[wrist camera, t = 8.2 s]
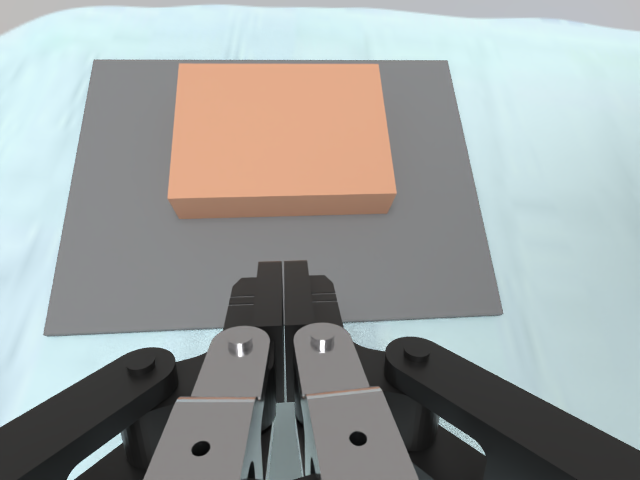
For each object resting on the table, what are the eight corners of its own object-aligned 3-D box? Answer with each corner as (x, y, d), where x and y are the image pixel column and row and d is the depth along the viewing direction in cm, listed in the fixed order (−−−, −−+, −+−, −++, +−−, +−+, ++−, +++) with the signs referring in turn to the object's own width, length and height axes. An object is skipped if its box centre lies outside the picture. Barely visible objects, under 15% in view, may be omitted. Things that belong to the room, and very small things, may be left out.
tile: (387, 213, 25) (371, 92, 28) (396, 193, 23) (378, 63, 26) (179, 219, 24) (188, 92, 27) (167, 198, 22) (178, 63, 25)
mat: (445, 64, 30) (447, 60, 30) (500, 315, 24) (503, 313, 23) (96, 64, 28) (93, 59, 28) (47, 336, 22) (43, 335, 21)
